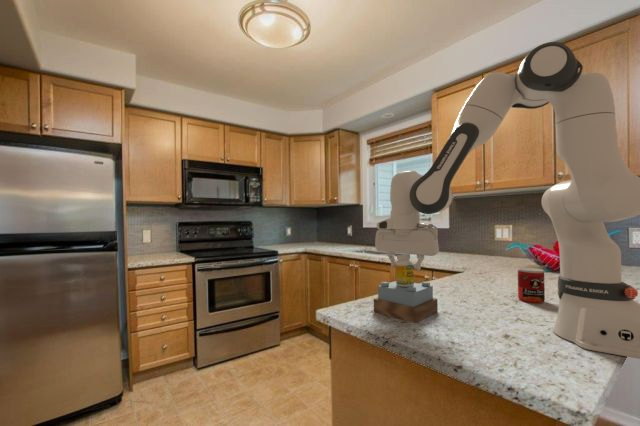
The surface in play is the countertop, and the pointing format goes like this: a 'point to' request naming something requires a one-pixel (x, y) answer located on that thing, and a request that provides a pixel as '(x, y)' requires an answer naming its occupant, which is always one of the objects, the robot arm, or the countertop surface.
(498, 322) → the countertop surface
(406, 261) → the supplement bottle
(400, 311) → the base brick
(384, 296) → the top brick
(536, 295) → the canned food
